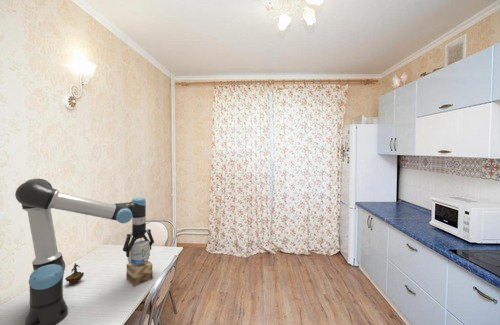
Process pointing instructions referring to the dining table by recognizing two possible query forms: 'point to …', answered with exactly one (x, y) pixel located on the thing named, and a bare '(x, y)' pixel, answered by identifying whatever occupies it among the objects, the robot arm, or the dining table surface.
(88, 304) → the dining table surface
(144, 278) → the slab bottom
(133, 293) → the dining table surface
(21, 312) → the dining table surface
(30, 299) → the robot arm
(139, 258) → the ink box
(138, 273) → the slab top
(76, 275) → the figurine
